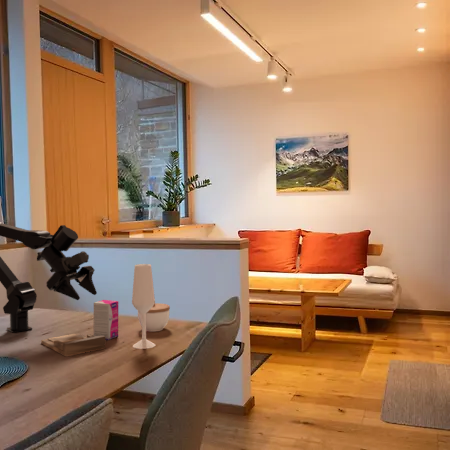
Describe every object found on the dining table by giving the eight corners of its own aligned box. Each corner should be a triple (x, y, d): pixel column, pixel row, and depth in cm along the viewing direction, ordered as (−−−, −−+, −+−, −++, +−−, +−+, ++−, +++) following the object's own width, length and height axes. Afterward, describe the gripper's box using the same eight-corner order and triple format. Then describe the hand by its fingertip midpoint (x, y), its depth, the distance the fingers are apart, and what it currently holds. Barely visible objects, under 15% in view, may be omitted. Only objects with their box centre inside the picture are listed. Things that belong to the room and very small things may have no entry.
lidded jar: (131, 331, 172) (130, 303, 171) (148, 324, 182) (147, 297, 181) (160, 334, 168) (159, 305, 167) (175, 327, 178) (175, 299, 177)
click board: (41, 343, 158) (41, 332, 158) (78, 336, 166) (78, 325, 166) (66, 356, 144) (65, 344, 144) (105, 348, 152) (105, 336, 152)
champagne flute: (143, 341, 159) (142, 263, 158) (160, 344, 156) (159, 264, 155) (127, 346, 154) (126, 265, 153) (144, 350, 150) (143, 266, 149)
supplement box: (109, 340, 161) (108, 303, 160) (92, 339, 163) (92, 302, 162) (119, 336, 166) (118, 300, 166) (103, 334, 168) (102, 299, 168)
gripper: (53, 246, 158) (85, 284, 155) (89, 241, 176) (118, 275, 173) (32, 271, 161) (63, 308, 158) (69, 264, 179) (98, 297, 176)
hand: (87, 296), depth 166 cm, fingers open, 9 cm apart
